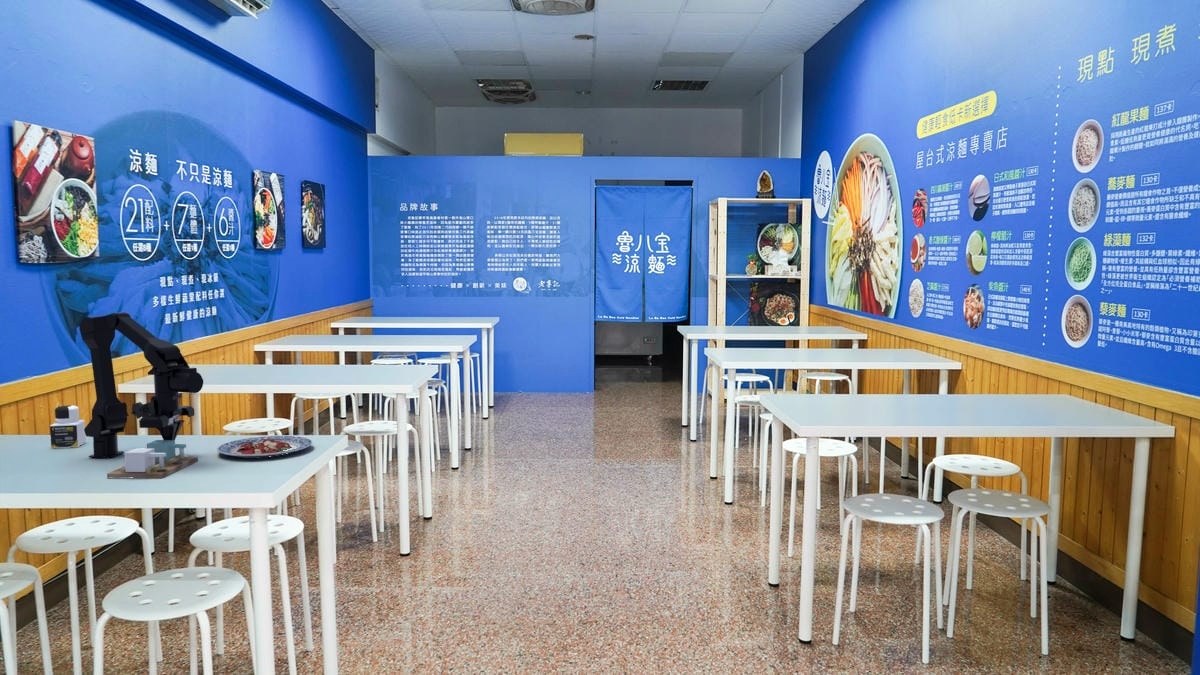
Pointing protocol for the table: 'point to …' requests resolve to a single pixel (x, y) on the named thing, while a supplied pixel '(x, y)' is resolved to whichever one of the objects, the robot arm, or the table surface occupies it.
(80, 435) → the medicine bottle
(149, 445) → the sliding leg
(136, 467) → the fixed leg
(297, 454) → the table surface
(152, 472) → the board
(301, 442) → the ceramic plate
